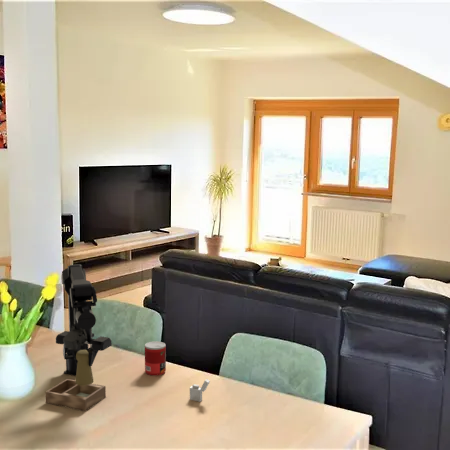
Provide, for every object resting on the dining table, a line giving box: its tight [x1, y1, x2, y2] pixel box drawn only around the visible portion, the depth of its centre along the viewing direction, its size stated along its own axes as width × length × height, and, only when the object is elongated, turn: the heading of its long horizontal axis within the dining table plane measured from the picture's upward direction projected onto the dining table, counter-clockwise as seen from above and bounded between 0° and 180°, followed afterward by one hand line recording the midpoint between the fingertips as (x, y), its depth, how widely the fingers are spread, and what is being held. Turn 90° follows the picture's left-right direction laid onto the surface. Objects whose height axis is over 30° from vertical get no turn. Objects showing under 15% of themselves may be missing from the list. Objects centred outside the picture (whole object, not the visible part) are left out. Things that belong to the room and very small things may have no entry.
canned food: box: [144, 340, 167, 377], centre depth 234 cm, size 8×8×11 cm
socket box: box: [44, 378, 107, 412], centre depth 210 cm, size 16×12×4 cm
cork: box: [75, 350, 94, 386], centre depth 207 cm, size 6×6×11 cm
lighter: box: [189, 378, 211, 402], centre depth 210 cm, size 7×2×8 cm, turn 65°
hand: (84, 364), depth 207 cm, fingers closed on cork, 5 cm apart
